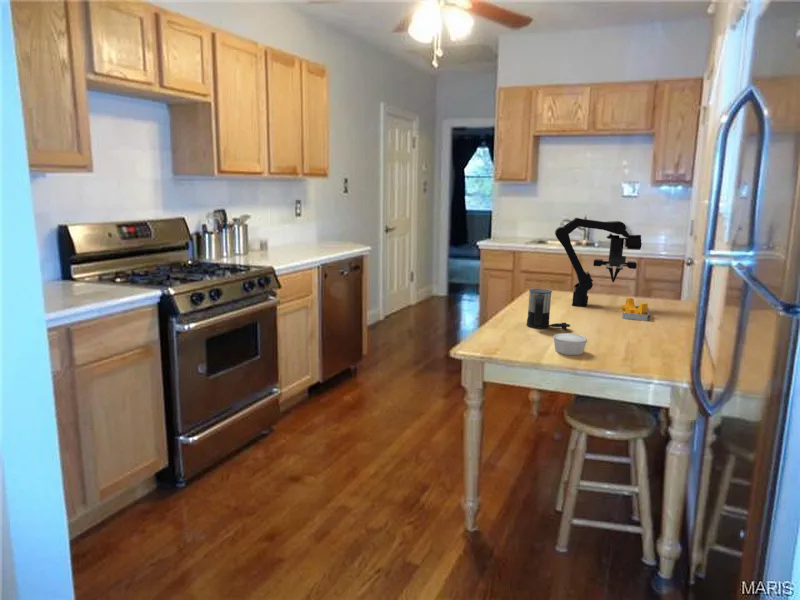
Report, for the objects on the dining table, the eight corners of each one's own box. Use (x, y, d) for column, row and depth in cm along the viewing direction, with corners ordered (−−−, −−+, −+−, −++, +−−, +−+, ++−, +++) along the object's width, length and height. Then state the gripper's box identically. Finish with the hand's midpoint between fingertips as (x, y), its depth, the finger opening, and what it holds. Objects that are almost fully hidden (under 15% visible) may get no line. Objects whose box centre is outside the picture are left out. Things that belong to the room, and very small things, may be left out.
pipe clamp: (621, 312, 270) (622, 298, 269) (629, 311, 271) (631, 297, 270) (637, 318, 259) (639, 303, 257) (646, 317, 260) (647, 303, 258)
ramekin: (548, 347, 211) (549, 332, 210) (578, 347, 212) (579, 333, 211) (558, 356, 200) (559, 341, 199) (590, 356, 201) (592, 341, 200)
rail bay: (622, 318, 257) (622, 312, 256) (621, 310, 273) (622, 304, 273) (649, 321, 253) (650, 315, 252) (647, 312, 270) (648, 307, 269)
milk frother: (523, 323, 245) (526, 287, 242) (560, 323, 246) (563, 288, 243) (533, 332, 231) (536, 294, 228) (572, 332, 232) (576, 295, 229)
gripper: (594, 249, 268) (591, 283, 272) (638, 252, 262) (635, 286, 266) (595, 246, 279) (592, 279, 282) (637, 249, 273) (634, 282, 276)
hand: (613, 282), depth 276 cm, fingers closed
